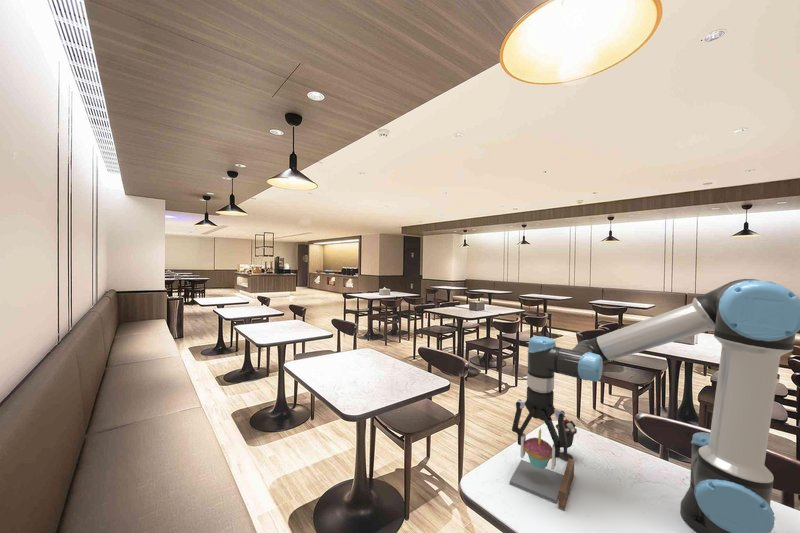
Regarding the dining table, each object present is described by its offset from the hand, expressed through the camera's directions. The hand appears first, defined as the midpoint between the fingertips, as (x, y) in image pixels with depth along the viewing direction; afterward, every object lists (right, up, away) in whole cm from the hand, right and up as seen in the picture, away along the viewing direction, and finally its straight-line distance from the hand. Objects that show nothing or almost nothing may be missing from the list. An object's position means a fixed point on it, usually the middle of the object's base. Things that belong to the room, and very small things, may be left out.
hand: (537, 460), depth 99 cm
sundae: (+15, -6, +13) cm, 21 cm away
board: (0, -6, 0) cm, 6 cm away
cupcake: (0, -1, 0) cm, 1 cm away
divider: (+7, -7, -4) cm, 10 cm away
